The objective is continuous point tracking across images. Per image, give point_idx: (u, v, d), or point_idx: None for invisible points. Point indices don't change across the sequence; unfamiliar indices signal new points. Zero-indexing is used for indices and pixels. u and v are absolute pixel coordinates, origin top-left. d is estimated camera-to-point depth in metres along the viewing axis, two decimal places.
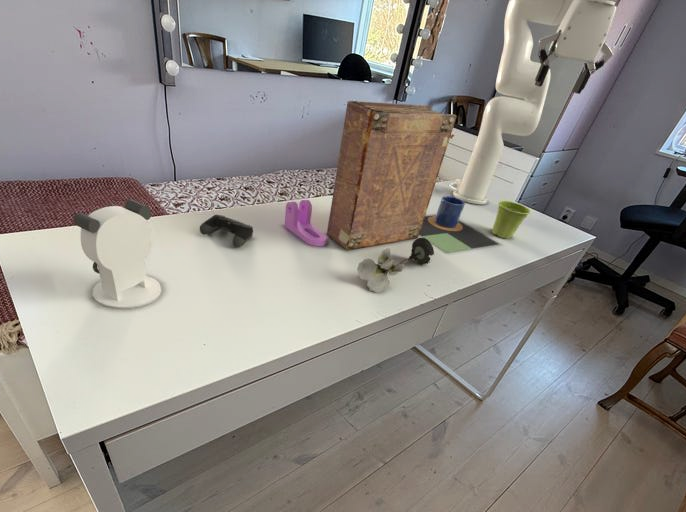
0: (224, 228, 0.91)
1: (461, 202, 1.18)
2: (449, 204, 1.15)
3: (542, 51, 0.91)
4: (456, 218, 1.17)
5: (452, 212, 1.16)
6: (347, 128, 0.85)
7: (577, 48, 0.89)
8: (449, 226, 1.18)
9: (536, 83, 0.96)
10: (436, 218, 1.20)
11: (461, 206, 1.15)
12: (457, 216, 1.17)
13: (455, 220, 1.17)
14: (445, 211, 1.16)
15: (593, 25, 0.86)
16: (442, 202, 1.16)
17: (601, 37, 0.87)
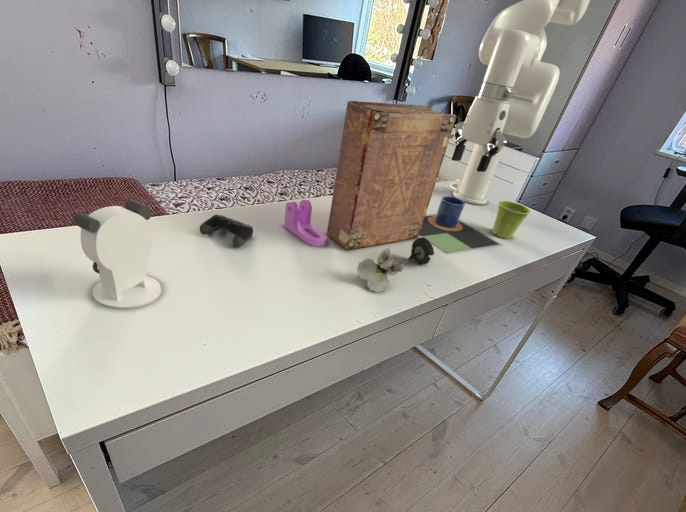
0: (224, 228, 0.91)
1: (461, 202, 1.18)
2: (449, 204, 1.15)
3: (455, 133, 1.10)
4: (456, 218, 1.17)
5: (452, 212, 1.16)
6: (347, 128, 0.85)
7: (472, 133, 1.04)
8: (449, 226, 1.18)
9: None
10: (436, 218, 1.20)
11: (461, 206, 1.15)
12: (457, 216, 1.17)
13: (455, 220, 1.17)
14: (445, 211, 1.16)
15: (481, 116, 1.01)
16: (442, 202, 1.16)
17: (488, 126, 1.00)
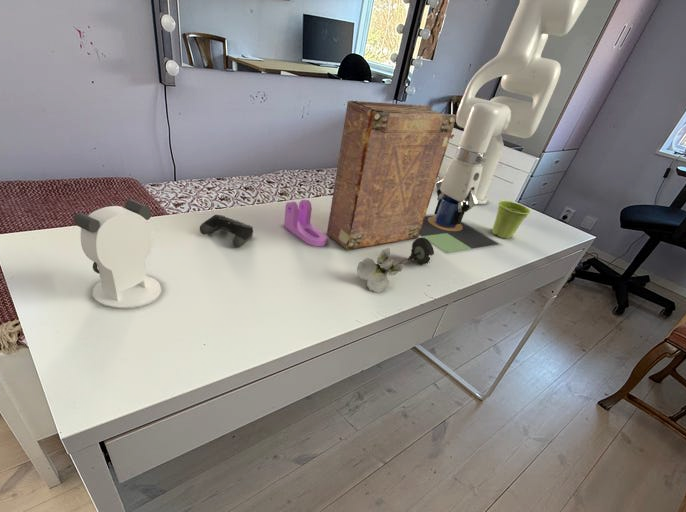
0: (224, 228, 0.91)
1: None
2: (449, 204, 1.15)
3: (437, 190, 1.20)
4: None
5: (452, 212, 1.16)
6: (347, 128, 0.85)
7: (450, 190, 1.14)
8: (449, 226, 1.18)
9: None
10: (436, 218, 1.20)
11: None
12: None
13: None
14: (445, 211, 1.16)
15: (457, 176, 1.10)
16: (442, 202, 1.16)
17: (463, 186, 1.10)
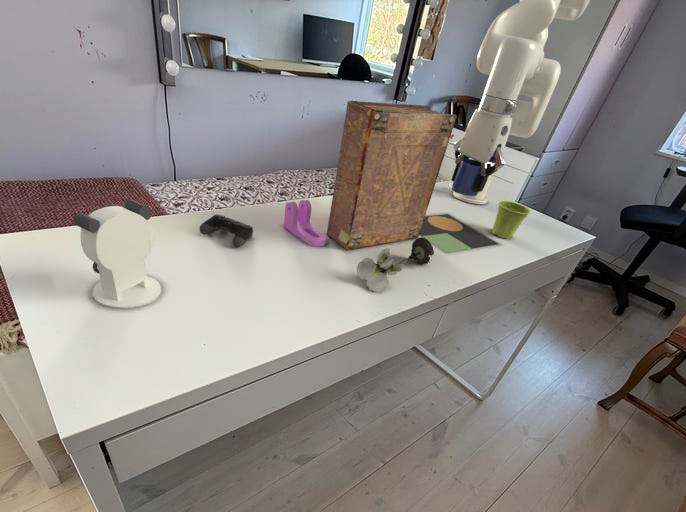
0: (224, 228, 0.91)
1: None
2: (470, 166, 0.96)
3: (456, 152, 1.01)
4: None
5: (474, 176, 0.97)
6: (347, 128, 0.85)
7: (472, 149, 0.96)
8: (469, 194, 1.00)
9: None
10: (454, 185, 1.01)
11: None
12: None
13: None
14: (465, 175, 0.98)
15: (481, 131, 0.92)
16: (462, 164, 0.98)
17: (488, 142, 0.92)
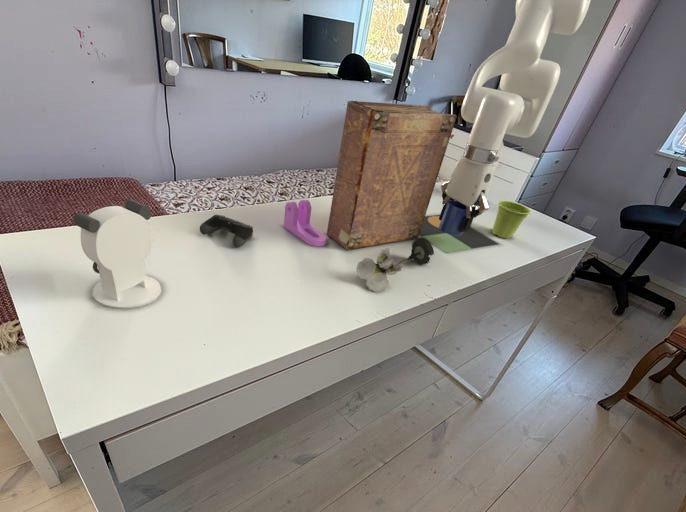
0: (224, 228, 0.91)
1: None
2: (456, 209, 1.01)
3: (443, 193, 1.06)
4: None
5: (459, 218, 1.02)
6: (347, 128, 0.85)
7: (457, 192, 1.00)
8: (456, 233, 1.05)
9: None
10: (441, 224, 1.06)
11: None
12: None
13: None
14: (451, 217, 1.03)
15: (466, 177, 0.97)
16: (448, 206, 1.03)
17: (473, 188, 0.96)
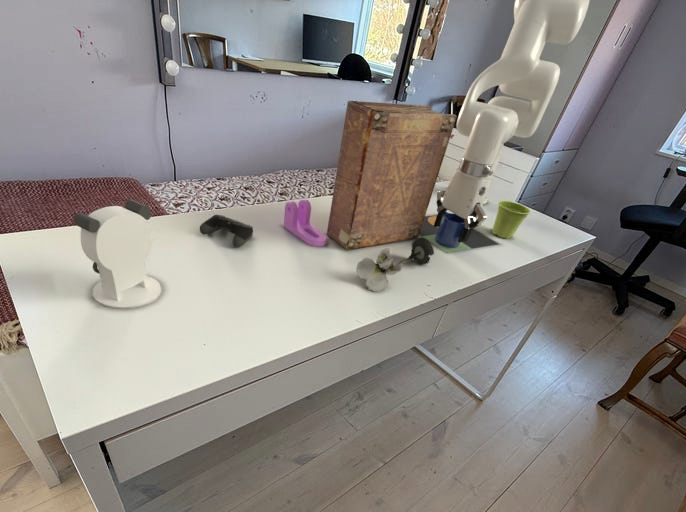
0: (224, 228, 0.91)
1: None
2: (451, 222, 1.03)
3: (437, 200, 1.08)
4: None
5: (454, 231, 1.04)
6: (347, 128, 0.85)
7: (453, 204, 1.03)
8: (451, 246, 1.07)
9: None
10: (437, 237, 1.08)
11: (464, 224, 1.04)
12: None
13: None
14: (446, 230, 1.05)
15: (461, 190, 0.99)
16: (443, 220, 1.05)
17: (468, 201, 0.99)
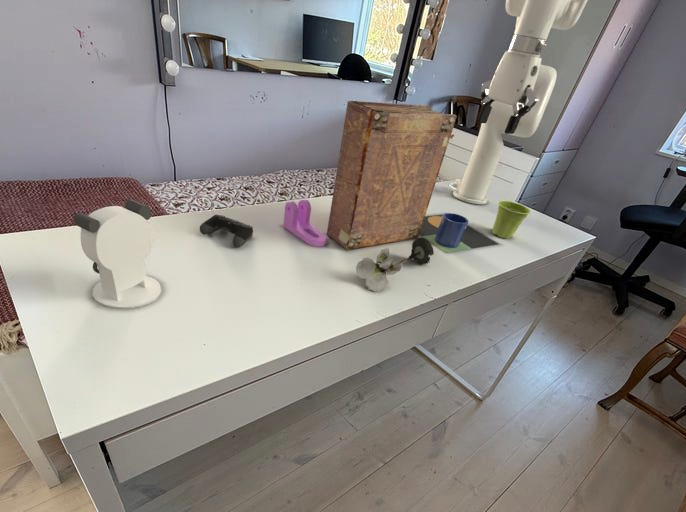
0: (224, 228, 0.91)
1: (464, 219, 1.07)
2: (451, 222, 1.03)
3: (482, 93, 1.04)
4: (459, 237, 1.06)
5: (454, 231, 1.04)
6: (347, 128, 0.85)
7: (500, 92, 0.98)
8: (451, 246, 1.07)
9: None
10: (437, 237, 1.08)
11: (464, 224, 1.04)
12: (460, 235, 1.06)
13: (458, 239, 1.06)
14: (446, 230, 1.05)
15: (511, 72, 0.95)
16: (443, 220, 1.05)
17: (518, 83, 0.94)
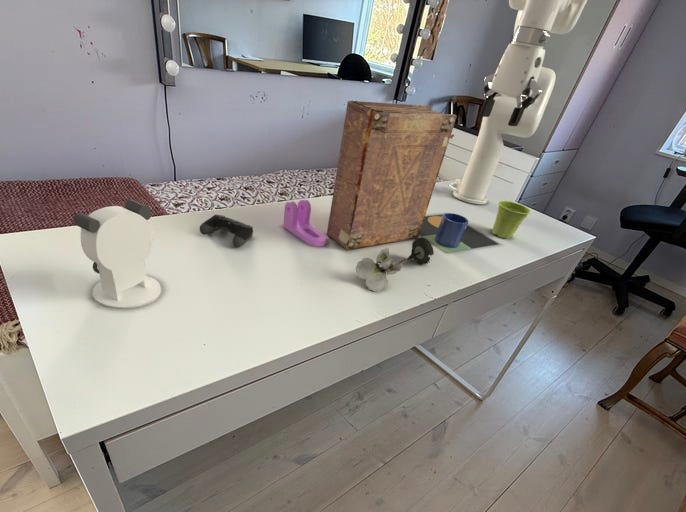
0: (224, 228, 0.91)
1: (464, 219, 1.07)
2: (451, 222, 1.03)
3: (485, 86, 1.04)
4: (459, 237, 1.06)
5: (454, 231, 1.04)
6: (347, 128, 0.85)
7: (504, 84, 0.98)
8: (451, 246, 1.07)
9: None
10: (437, 237, 1.08)
11: (464, 224, 1.04)
12: (460, 235, 1.06)
13: (458, 239, 1.06)
14: (446, 230, 1.05)
15: (515, 64, 0.95)
16: (443, 220, 1.05)
17: (522, 75, 0.94)
